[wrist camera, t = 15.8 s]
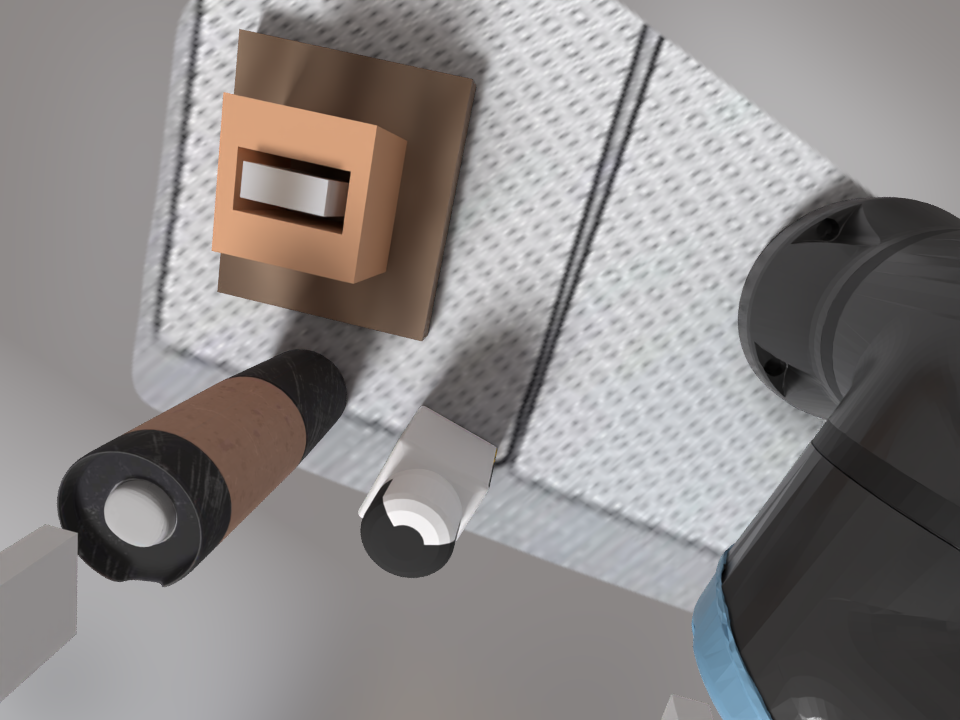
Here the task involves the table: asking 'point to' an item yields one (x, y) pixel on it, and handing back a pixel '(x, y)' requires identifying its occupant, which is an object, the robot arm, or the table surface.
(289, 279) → the stand
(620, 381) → the table surface
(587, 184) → the table surface
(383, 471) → the medicine bottle
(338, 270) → the tan cube with window
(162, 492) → the travel mug
